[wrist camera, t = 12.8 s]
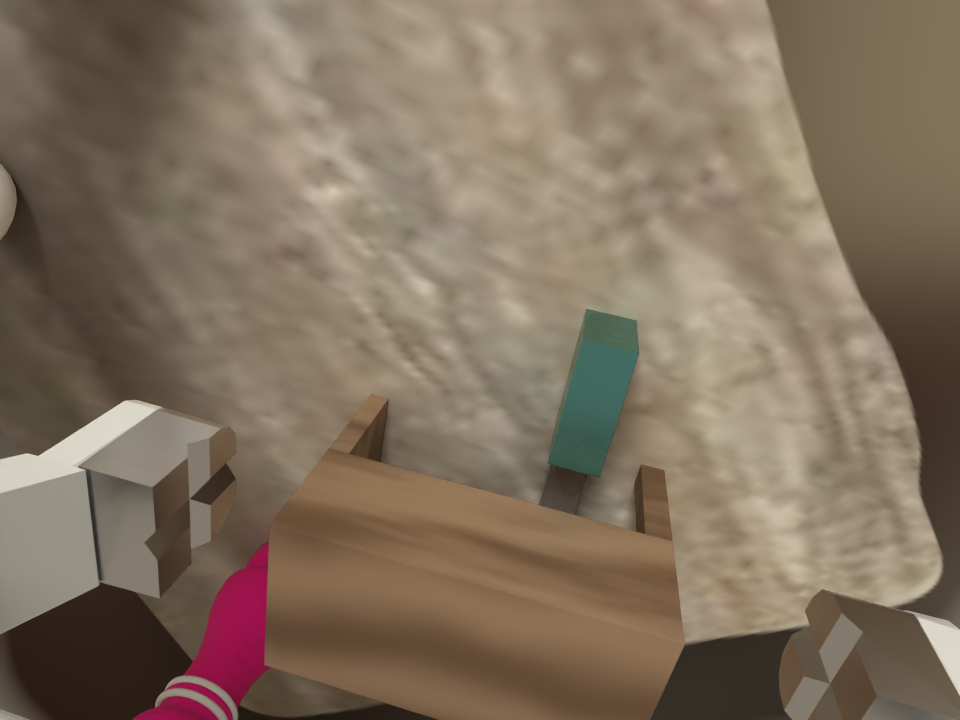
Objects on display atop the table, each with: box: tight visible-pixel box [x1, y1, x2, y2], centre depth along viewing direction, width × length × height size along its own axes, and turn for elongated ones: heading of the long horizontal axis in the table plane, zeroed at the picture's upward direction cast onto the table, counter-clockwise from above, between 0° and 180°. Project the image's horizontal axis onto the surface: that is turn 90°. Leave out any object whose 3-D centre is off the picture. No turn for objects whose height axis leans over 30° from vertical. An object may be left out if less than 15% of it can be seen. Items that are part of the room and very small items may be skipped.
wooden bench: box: [264, 395, 685, 720], centre depth 38 cm, size 10×20×14 cm, turn 79°
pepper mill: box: [133, 542, 271, 720], centre depth 42 cm, size 7×7×20 cm
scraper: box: [538, 309, 639, 515], centre depth 40 cm, size 20×6×5 cm, turn 169°
